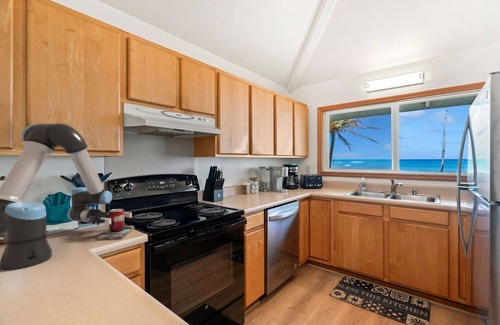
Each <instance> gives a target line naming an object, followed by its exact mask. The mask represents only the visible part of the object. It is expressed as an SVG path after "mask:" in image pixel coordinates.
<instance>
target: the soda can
mask: <svg viewBox="0 0 500 325" xmlns="http://www.w3.org/2000/svg"><path fill="white" fill-rule="evenodd" d="M124 211H125V210H124V209H123V208H115V209H110V210H109V211H108V212H109V216H108V217H109V218H110V219H111V224H108V231H109V232H110V233H116V232H123V231H124V226H125V217H124Z"/></svg>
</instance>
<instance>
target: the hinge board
mask: <svg viewBox="0 0 500 325" xmlns="http://www.w3.org/2000/svg"><path fill="white" fill-rule="evenodd" d="M134 229H135V226H134V225H124V231H123V232H116V233H110V232H109V230H107V231H106V232H101V233H99V235H98V236H97V237H96V241H107V240H109V241H111V240H122V239H124V238H125V237H126V236H127V235H129V234H130V233H131V232H132V231H134Z"/></svg>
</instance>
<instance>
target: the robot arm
mask: <svg viewBox="0 0 500 325" xmlns="http://www.w3.org/2000/svg"><path fill="white" fill-rule="evenodd" d="M21 137H22V146H23V149H22V152H21V153H20V154H19V156H18V158H17V160H16V161H15V163H14V164H13V165H12V167H11V169H10V171H9V172H8V174H7V176H6V177H5V179H4V180H3V182H2V183H1V185H0V236H5V241H6V242H5V248H4V251H3V253H2V254H1V259H0V269H1V270H6V271H10V270H11V271H12V270H19V269H24V268H28V267H32V266H36V265H39V264H43V263H44V262H46V261H48V260H49V259H51V258H52V257H53V250H52V248H51V245H50V243H49V241H48V239H47V211H46V209H47V208H46V205H45V204H44V203H41V202H37V201H23V199H24V198H25V196H26V194H27V192H28V190H29V189H30V187H31V185H32V183H33V182H34V180H35V178H36V176H37V175H38V173H39V171H40V169H41V168H42V165H43V164H44V162H45V160H46V158H47V156H51V155H53V154H54V151H55V150H56V148H62V149H63V150H64V153H65V154H67V155H69V157H70V159H71V161H72V163H73V165H74V166H75V168H76V170H77V173H78V174H79V176H80V178H81V180H82V182H83V185H84V186H85V187H84V186H83V187H74V188H71V195H70V196H71V199H70V200H71V208H69V210H68V211H67V214H66V216H67V219H68V220H71V221H74V222H86V223H88V224H92V225H97V226H100V224H104V225H109V224H111V219H110V218H109V211H106V212H105V211H102V210H101V209H99V208H89V207H88V205H107V204H110V203H111V201H112V199H113V194H112V192H111V191H109V190H105V188H104V186H103V183H102V180H101V179H100V176H99V175H98V172H97V170H96V167H95V166H94V163H93V162H92V159H91V157H90V154H89V152H88V144H87V142H86V140H85V139H84V137H83V136H82V135H81V133H79V131H77V130H76V129H75V128H74V127H72V126H71V125H69V124H66V123H63V122H62V123H60V122H58V123H33V124H30V125H28V126H26V127H25V128H24V129H23V130H22V133H21ZM132 215H133V214H132V212H129V211H128V212H127V211H126V210H124V218H130V219H131V218H133V216H132Z"/></svg>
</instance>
